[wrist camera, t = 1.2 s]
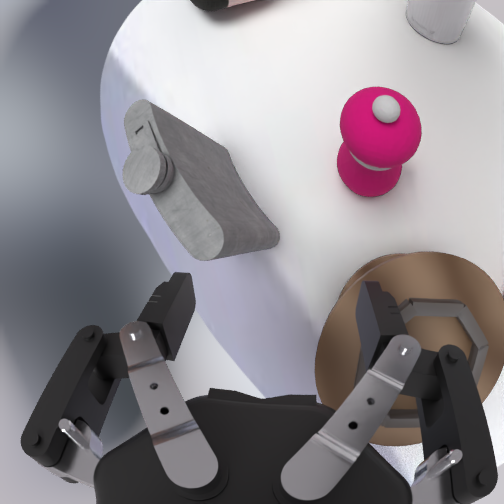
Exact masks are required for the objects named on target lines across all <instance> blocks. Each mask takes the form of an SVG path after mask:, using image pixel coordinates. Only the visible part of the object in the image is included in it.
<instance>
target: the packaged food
mask: <svg viewBox="0 0 504 504" xmlns="http://www.w3.org/2000/svg"><path fill="white" fill-rule="evenodd" d="M190 1H191V2H192V3H193V4H194V5H195V6H197V7H198V8H200V9H202V10H205V11H216V10H220V9H224V8H227V7H230V6H234V5H237V4H242V3H246V2H250V1H254V0H190Z"/></svg>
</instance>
